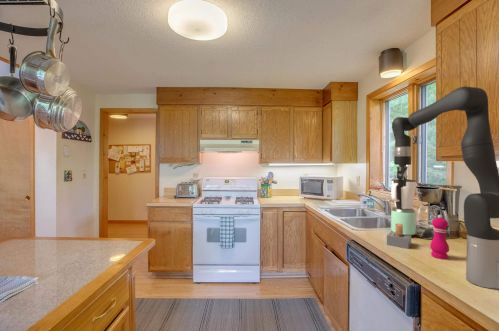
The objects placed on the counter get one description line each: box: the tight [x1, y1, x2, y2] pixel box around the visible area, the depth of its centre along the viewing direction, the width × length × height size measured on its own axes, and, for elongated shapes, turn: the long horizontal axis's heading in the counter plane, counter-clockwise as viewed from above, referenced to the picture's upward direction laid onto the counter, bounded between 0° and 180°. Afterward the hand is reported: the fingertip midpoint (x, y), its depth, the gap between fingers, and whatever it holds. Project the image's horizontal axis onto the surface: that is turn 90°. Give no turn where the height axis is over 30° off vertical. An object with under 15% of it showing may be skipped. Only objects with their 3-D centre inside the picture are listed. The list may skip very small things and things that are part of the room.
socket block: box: [386, 231, 412, 250], centre depth 136 cm, size 10×10×5 cm
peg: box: [395, 224, 403, 237], centre depth 136 cm, size 3×3×10 cm
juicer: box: [390, 178, 417, 237], centre depth 154 cm, size 19×13×35 cm
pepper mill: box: [429, 214, 450, 260], centre depth 118 cm, size 7×7×20 cm
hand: (402, 186), depth 130 cm, fingers open, 8 cm apart
